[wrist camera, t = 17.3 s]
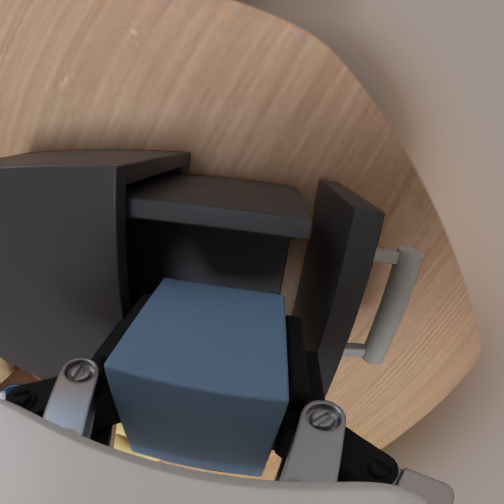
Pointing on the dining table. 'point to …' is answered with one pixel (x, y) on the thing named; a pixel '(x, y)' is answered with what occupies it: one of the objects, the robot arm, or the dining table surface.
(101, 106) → the dining table surface
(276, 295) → the block
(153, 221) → the dark grey drawer
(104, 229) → the dark grey drawer cabinet
